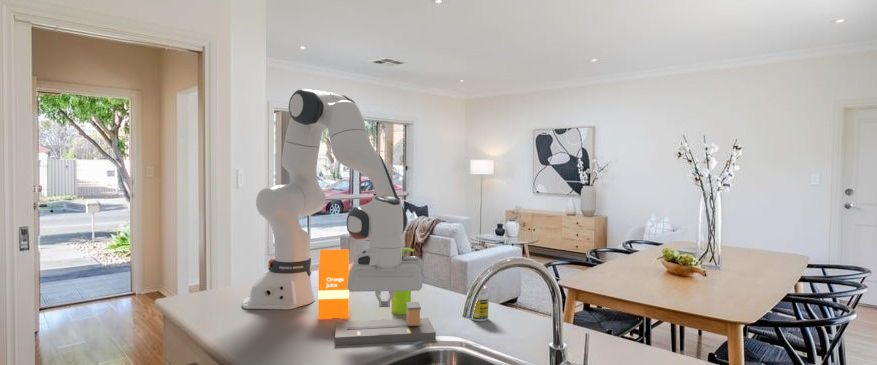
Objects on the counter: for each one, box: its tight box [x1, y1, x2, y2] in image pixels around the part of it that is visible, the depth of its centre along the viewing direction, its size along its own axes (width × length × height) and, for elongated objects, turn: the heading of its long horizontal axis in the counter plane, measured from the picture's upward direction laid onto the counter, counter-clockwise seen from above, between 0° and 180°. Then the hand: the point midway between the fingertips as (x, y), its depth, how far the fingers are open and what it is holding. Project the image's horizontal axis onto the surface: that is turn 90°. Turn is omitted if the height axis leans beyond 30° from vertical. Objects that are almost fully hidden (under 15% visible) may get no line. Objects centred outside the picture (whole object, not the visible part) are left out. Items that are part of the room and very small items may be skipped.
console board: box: [334, 317, 437, 346], centre depth 131 cm, size 26×12×2 cm, turn 100°
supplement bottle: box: [471, 285, 490, 322], centre depth 145 cm, size 5×5×10 cm
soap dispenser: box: [391, 247, 415, 316], centre depth 150 cm, size 6×7×20 cm
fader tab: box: [405, 301, 421, 326], centre depth 132 cm, size 3×5×5 cm, turn 11°
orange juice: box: [317, 248, 350, 320], centre depth 146 cm, size 8×9×20 cm
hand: (384, 306), depth 131 cm, fingers closed
